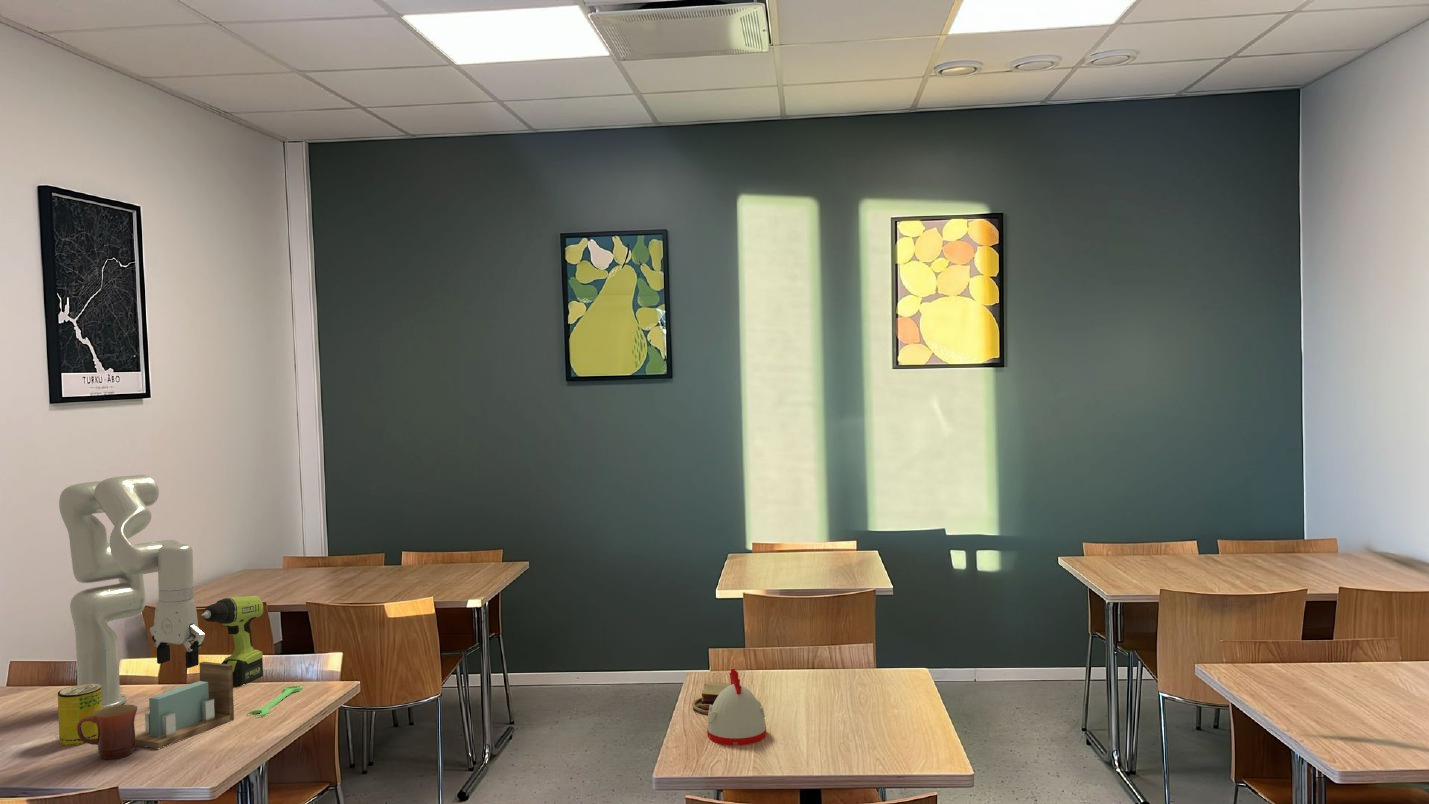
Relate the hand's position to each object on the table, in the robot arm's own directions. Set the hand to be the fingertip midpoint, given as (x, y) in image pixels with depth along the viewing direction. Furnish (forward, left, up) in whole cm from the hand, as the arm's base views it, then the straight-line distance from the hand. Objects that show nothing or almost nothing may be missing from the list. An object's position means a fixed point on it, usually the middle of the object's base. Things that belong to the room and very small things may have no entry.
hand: (177, 664), depth 240 cm
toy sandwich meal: (+118, +59, -17) cm, 133 cm away
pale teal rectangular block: (0, 0, -15) cm, 15 cm away
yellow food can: (-20, -11, -17) cm, 28 cm away
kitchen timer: (+130, +42, -17) cm, 138 cm away
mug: (-2, -17, -17) cm, 24 cm away
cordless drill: (-20, +33, -17) cm, 42 cm away
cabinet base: (0, 0, -17) cm, 17 cm away
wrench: (+5, +25, -18) cm, 31 cm away
